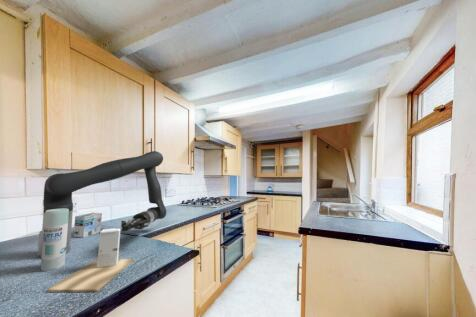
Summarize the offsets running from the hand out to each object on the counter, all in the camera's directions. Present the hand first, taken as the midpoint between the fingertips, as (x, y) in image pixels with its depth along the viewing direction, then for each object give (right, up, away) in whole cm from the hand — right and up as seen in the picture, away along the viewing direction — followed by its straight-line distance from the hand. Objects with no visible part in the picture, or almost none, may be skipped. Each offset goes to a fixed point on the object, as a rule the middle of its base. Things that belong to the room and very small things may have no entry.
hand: (124, 228), depth 81 cm
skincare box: (0, -9, -10) cm, 14 cm away
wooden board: (0, -9, -16) cm, 18 cm away
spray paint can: (-19, -10, -11) cm, 24 cm away
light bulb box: (-35, -13, +27) cm, 46 cm away
